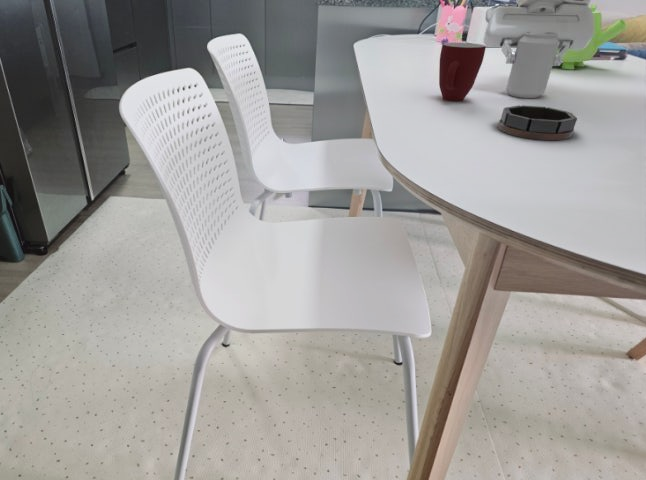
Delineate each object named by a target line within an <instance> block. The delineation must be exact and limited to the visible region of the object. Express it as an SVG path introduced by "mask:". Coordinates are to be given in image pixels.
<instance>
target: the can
mask: <svg viewBox="0 0 646 480" xmlns="http://www.w3.org/2000/svg"><path fill="white" fill-rule="evenodd" d="M558 35H559V34H558V33H551V32H547V33H542V34H531V33H530V32H524V36H523V37H522V38H521V39H520V40H519V41H518V45H517V48H515V49H516V50H515V52H516V55H515V56H516V59H515V61H514V63H513V64H511V69H510V72H509V76H508V80H507V84H506V88H505V90H506V92H507V93H508V95H509V96H511V97H516V98H521V99H522V98H523V99H536V98H539V97H540V96H541V95H544V94H545V93H546V92H545V91H546V89H547V86H548V82H549V80H550V79H549V78H550V75H551V73H552V70H553V67H554V66H553V63H554V60H555V56H556V53H557V50H558V46H559V41H558V39H557V36H558Z"/></svg>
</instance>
